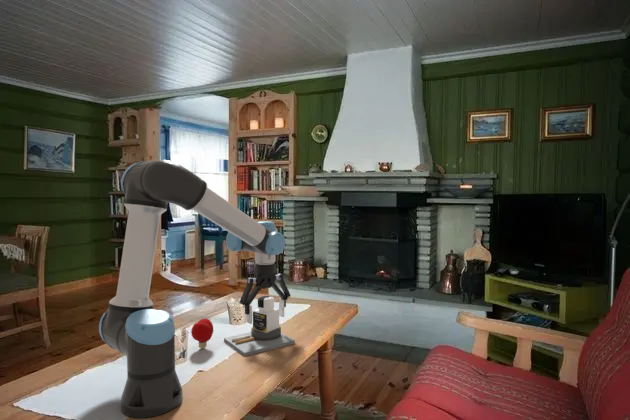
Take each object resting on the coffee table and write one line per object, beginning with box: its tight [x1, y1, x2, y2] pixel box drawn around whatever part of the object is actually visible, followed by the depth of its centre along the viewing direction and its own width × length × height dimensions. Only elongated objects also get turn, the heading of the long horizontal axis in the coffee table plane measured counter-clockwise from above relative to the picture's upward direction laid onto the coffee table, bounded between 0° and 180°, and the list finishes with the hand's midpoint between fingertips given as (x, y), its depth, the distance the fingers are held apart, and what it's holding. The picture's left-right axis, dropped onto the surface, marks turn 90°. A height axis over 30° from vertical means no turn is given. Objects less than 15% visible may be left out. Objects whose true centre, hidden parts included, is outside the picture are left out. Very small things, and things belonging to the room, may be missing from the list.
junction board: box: [223, 331, 296, 357], centre depth 152 cm, size 20×17×2 cm
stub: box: [250, 325, 282, 341], centre depth 156 cm, size 11×11×2 cm
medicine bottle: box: [252, 295, 280, 333], centre depth 156 cm, size 7×7×12 cm
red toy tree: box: [190, 318, 214, 350], centre depth 146 cm, size 9×7×10 cm
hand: (266, 319), depth 156 cm, fingers open, 13 cm apart
